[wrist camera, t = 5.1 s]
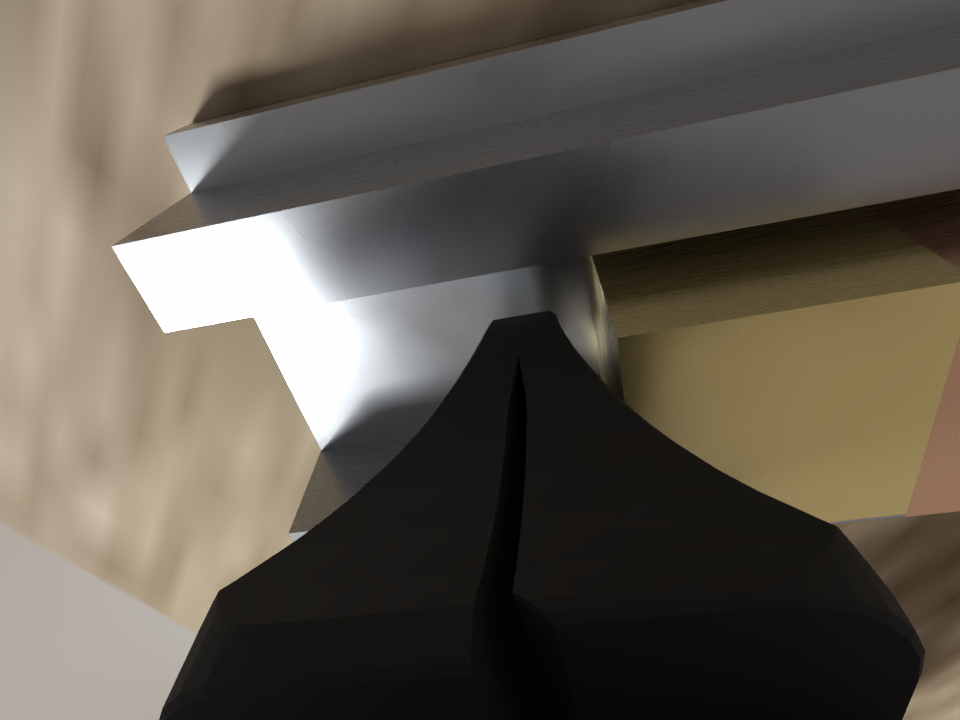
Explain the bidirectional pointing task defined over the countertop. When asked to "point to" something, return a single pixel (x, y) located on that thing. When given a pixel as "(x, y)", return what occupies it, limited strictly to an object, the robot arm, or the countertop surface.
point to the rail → (529, 191)
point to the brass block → (786, 354)
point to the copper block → (956, 429)
